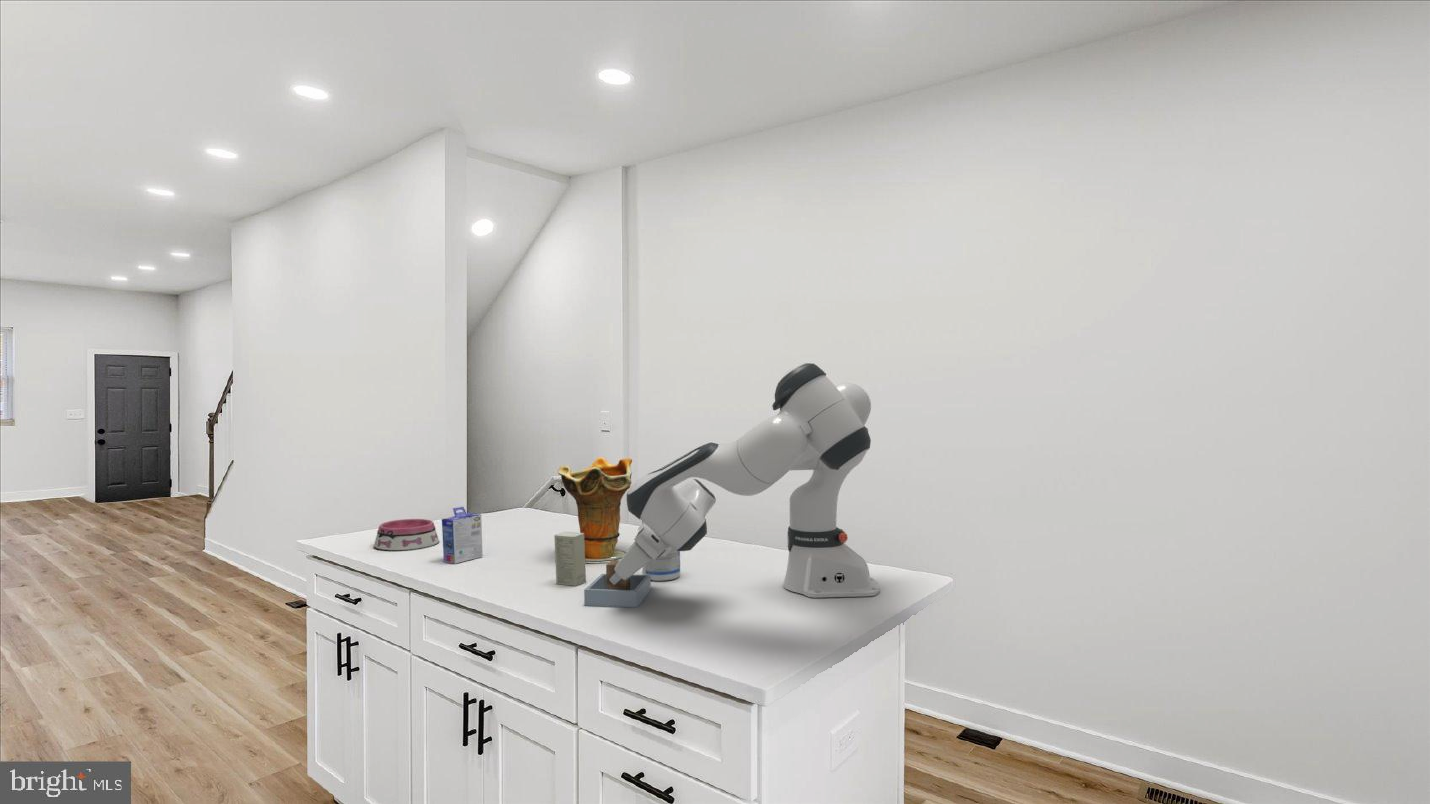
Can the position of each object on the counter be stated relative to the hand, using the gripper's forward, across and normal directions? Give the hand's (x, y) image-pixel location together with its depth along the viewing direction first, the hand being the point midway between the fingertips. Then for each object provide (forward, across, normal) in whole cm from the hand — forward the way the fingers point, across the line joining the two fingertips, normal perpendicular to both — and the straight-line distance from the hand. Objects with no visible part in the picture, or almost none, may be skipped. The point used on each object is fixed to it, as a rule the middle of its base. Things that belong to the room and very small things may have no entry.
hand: (615, 578), depth 168 cm
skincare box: (+13, -10, -7) cm, 18 cm away
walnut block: (+3, 0, +4) cm, 4 cm away
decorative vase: (+14, -38, -8) cm, 42 cm away
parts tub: (+3, 0, +4) cm, 4 cm away
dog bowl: (+59, -47, -52) cm, 92 cm away
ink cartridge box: (+40, -31, -34) cm, 61 cm away
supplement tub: (-1, -18, +8) cm, 20 cm away
